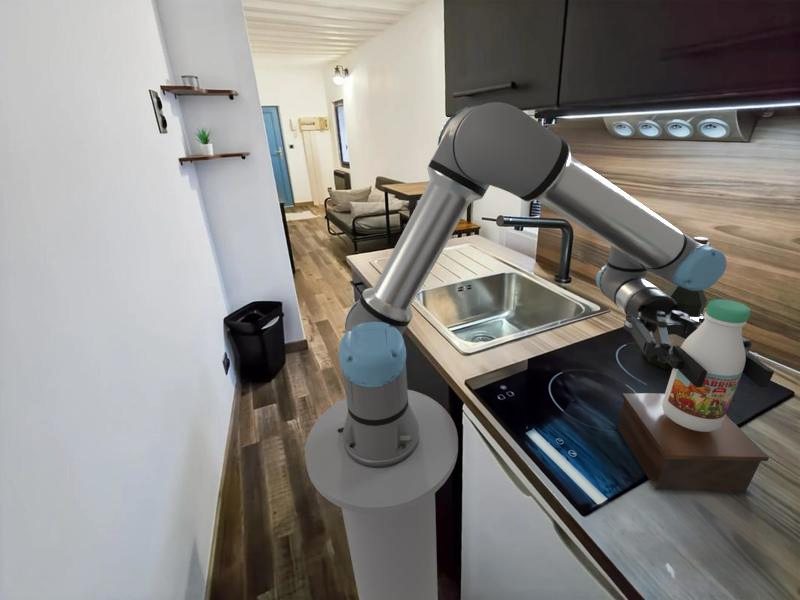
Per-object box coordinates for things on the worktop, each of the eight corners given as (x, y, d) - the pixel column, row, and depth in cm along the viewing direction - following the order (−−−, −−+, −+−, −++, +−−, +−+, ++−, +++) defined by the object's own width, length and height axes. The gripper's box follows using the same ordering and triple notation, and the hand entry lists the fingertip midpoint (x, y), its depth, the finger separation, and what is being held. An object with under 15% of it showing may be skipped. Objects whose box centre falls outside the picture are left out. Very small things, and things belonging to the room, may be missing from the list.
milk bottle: (649, 402, 62) (681, 296, 54) (692, 397, 63) (730, 291, 54) (686, 436, 55) (728, 320, 47) (733, 430, 56) (784, 315, 47)
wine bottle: (635, 353, 90) (666, 235, 78) (662, 347, 92) (697, 231, 79) (665, 372, 83) (704, 246, 70) (694, 365, 85) (738, 241, 72)
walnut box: (653, 491, 57) (666, 455, 54) (613, 425, 70) (622, 393, 66) (750, 494, 56) (769, 457, 52) (691, 427, 68) (704, 393, 65)
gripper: (697, 321, 71) (805, 401, 50) (587, 323, 73) (648, 400, 52) (709, 286, 68) (829, 356, 47) (594, 289, 70) (661, 357, 49)
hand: (734, 379), depth 50 cm, fingers closed on milk bottle, 8 cm apart
